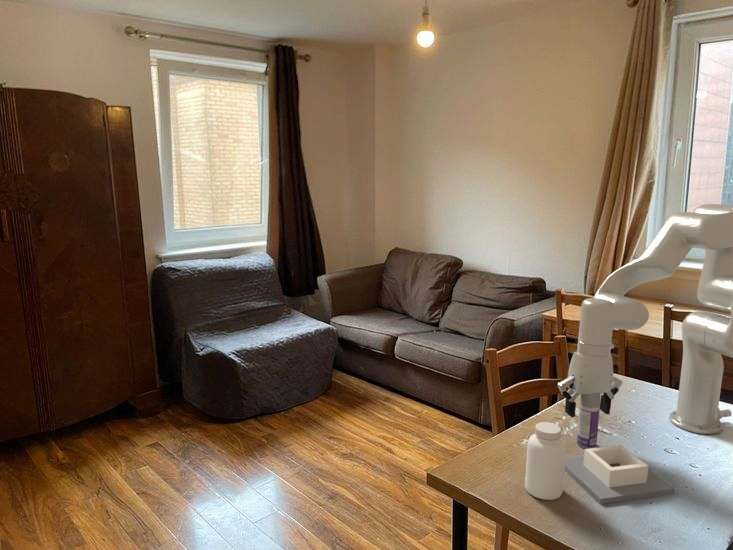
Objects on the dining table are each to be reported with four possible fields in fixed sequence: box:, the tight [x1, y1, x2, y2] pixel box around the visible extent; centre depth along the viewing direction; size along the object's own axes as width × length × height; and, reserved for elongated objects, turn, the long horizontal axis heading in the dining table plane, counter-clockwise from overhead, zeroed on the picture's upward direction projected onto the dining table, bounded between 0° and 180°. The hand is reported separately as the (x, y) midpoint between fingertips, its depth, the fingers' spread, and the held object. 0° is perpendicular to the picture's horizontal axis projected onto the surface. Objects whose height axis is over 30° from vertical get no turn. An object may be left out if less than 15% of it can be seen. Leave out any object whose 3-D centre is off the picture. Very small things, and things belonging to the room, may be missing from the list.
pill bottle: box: [524, 421, 567, 501], centre depth 118 cm, size 8×8×15 cm
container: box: [576, 393, 601, 450], centre depth 138 cm, size 5×5×15 cm
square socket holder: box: [564, 444, 676, 505], centre depth 124 cm, size 18×16×5 cm
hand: (587, 413), depth 137 cm, fingers open, 9 cm apart
